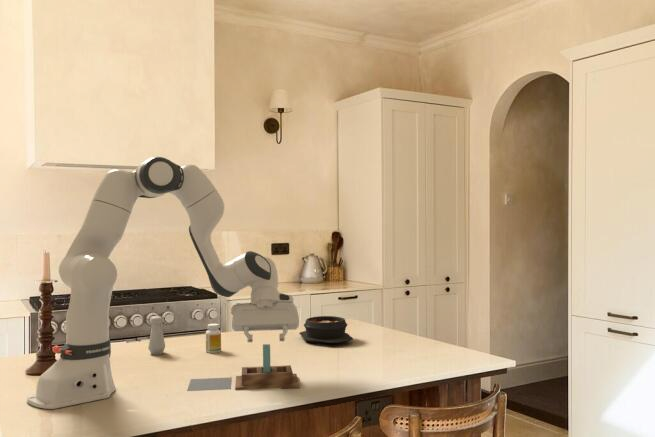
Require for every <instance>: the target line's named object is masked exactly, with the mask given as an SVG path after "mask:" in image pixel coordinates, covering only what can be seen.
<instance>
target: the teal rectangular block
mask: <svg viewBox="0 0 655 437" xmlns="http://www.w3.org/2000/svg"><path fill="white" fill-rule="evenodd" d="M262 366H263V373H270V366H271V344H268V343H267V344H266V343H265V344H264V343H263V344H262Z"/></svg>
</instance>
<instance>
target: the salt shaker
mask: <svg viewBox="0 0 655 437" xmlns="http://www.w3.org/2000/svg"><path fill="white" fill-rule="evenodd" d="M149 322H150V324H151V328H150V329H151V330H150V335H149V336H150V337H149V341H148V350H149V352H150V354H151V355H155V356H159V355H163V353H164V351H165V349H166V342H165V337H164V331H163V325H162V324H163V322H164V319H163V316H158V315H156V316H151V318H150V320H149Z"/></svg>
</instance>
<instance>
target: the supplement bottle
mask: <svg viewBox="0 0 655 437" xmlns="http://www.w3.org/2000/svg"><path fill="white" fill-rule="evenodd" d="M219 328H220V324H219V323H209V324H207V330H206V331H205V352H206V353H207V352H208V354H217V353H220V352H221V351H222V331H221V330H220V329H219Z"/></svg>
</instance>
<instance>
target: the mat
mask: <svg viewBox="0 0 655 437" xmlns="http://www.w3.org/2000/svg"><path fill="white" fill-rule="evenodd" d="M232 379H233V377H231V376H230V377H211V378H209V377H208V378H191V379H190V380H189V383H188V387H187V390H186V391H187V392H198V391H216V390H217V391H219V390H231V389H232Z"/></svg>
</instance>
